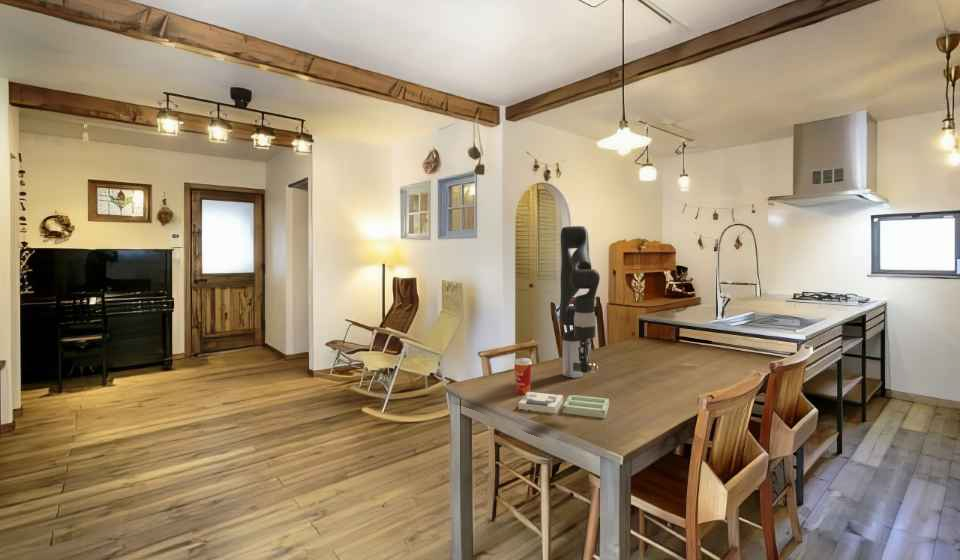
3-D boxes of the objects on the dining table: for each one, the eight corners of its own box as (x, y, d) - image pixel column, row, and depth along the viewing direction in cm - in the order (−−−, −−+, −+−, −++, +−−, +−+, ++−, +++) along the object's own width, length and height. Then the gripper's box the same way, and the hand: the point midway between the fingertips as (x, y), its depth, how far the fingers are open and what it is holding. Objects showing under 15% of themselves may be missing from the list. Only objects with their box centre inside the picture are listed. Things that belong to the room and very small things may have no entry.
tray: (569, 401, 179) (569, 394, 179) (609, 405, 173) (609, 398, 173) (562, 413, 166) (562, 406, 166) (604, 418, 161) (604, 410, 161)
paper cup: (511, 391, 194) (510, 358, 193) (527, 388, 196) (526, 356, 195) (519, 396, 186) (518, 362, 185) (535, 394, 189) (535, 360, 188)
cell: (574, 371, 168) (574, 362, 169) (598, 373, 165) (598, 364, 166) (572, 370, 166) (573, 361, 166) (597, 372, 162) (597, 363, 163)
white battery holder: (528, 397, 184) (528, 387, 184) (563, 401, 179) (562, 390, 179) (518, 409, 171) (518, 398, 171) (555, 413, 166) (555, 402, 166)
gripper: (577, 320, 173) (577, 365, 174) (570, 326, 160) (571, 375, 161) (597, 321, 170) (597, 367, 171) (592, 327, 157) (592, 377, 158)
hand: (584, 370), depth 166 cm, fingers closed on cell, 3 cm apart
